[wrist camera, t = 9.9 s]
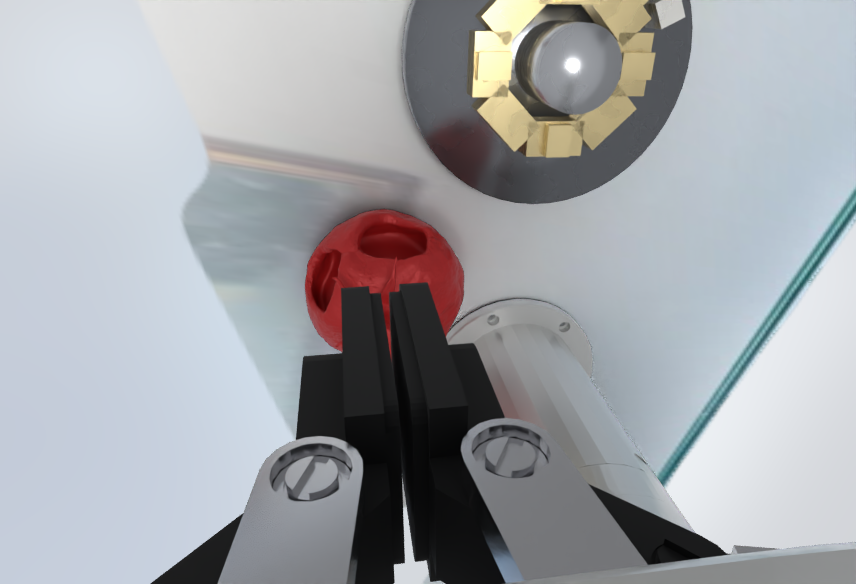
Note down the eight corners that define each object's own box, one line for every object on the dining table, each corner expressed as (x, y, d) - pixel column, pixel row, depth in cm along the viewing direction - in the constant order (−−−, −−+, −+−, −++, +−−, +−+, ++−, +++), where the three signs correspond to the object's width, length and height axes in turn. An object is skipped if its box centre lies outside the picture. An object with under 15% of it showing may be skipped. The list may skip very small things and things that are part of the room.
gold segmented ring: (541, 183, 37) (574, 212, 32) (431, 62, 33) (449, 73, 28) (742, -7, 34) (814, -8, 28) (647, -168, 29) (712, -202, 24)
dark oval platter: (690, 139, 39) (751, 163, 34) (453, 231, 40) (473, 270, 34) (651, -160, 32) (722, -195, 26) (356, -41, 32) (361, -50, 26)
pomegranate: (474, 289, 42) (508, 359, 34) (352, 351, 43) (356, 434, 35) (412, 168, 38) (434, 216, 29) (277, 240, 39) (261, 306, 30)
